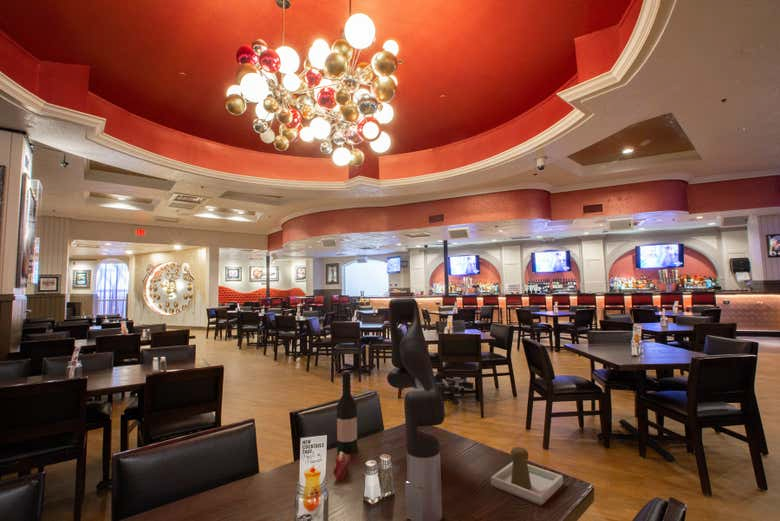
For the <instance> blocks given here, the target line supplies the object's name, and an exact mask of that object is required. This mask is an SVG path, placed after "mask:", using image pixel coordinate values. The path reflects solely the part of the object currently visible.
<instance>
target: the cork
mask: <svg viewBox="0 0 780 521" xmlns="http://www.w3.org/2000/svg"><path fill="white" fill-rule="evenodd" d="M510 456H511V458H512V462H513V465H512V477H511V483H512V484H515V485H517V486H520V487H522V488H525V489H528V490H530V489H531V481H530V476H529V470H528V465H527V464H528V459H529V452H528V450H527V449H526V448H524V447H520V446H515V447H512V448H511V450H510Z"/></svg>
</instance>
